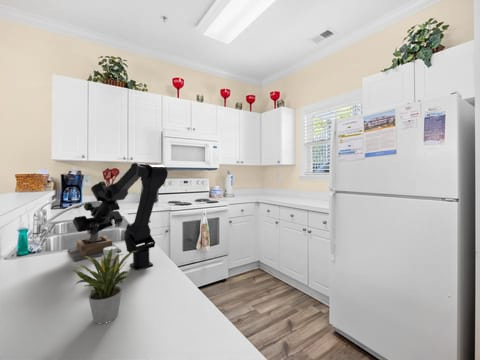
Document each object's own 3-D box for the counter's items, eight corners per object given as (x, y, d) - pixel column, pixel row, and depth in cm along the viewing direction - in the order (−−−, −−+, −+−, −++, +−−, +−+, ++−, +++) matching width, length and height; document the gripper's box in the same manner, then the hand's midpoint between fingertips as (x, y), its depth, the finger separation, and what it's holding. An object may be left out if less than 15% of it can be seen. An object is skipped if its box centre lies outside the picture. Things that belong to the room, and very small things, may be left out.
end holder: (121, 251, 106) (121, 241, 106) (74, 261, 95) (74, 249, 95) (110, 242, 120) (109, 233, 119) (68, 250, 108) (68, 239, 108)
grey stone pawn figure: (91, 250, 103) (91, 222, 103) (83, 248, 106) (83, 221, 105) (105, 246, 108) (104, 220, 108) (96, 245, 111) (96, 219, 111)
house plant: (125, 293, 70) (124, 238, 70) (151, 311, 61) (150, 247, 61) (67, 316, 59) (65, 251, 59) (88, 342, 50) (86, 265, 50)
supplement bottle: (117, 278, 80) (117, 249, 80) (99, 280, 79) (99, 251, 78) (120, 271, 86) (120, 244, 85) (103, 273, 84) (103, 246, 84)
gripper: (118, 193, 112) (105, 215, 118) (74, 197, 96) (61, 222, 102) (129, 211, 108) (115, 233, 115) (85, 218, 92) (71, 243, 99)
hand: (92, 232), depth 108 cm, fingers closed on grey stone pawn figure, 3 cm apart
